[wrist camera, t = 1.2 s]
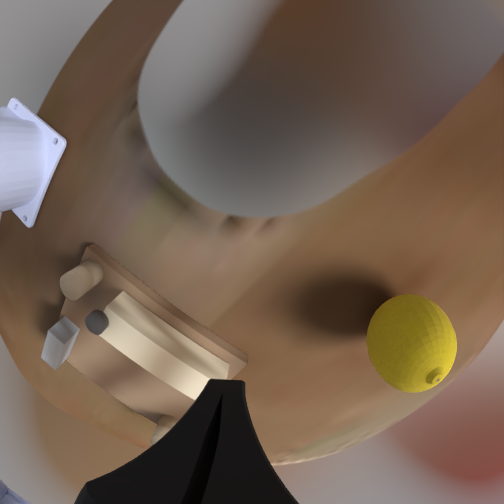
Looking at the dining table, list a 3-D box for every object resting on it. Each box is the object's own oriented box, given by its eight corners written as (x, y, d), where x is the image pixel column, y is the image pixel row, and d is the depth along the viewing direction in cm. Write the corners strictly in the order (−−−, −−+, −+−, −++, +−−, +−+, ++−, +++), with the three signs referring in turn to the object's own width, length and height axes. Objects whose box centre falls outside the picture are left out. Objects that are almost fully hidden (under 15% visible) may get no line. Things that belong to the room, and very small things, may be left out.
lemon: (359, 353, 20) (392, 429, 12) (347, 292, 19) (388, 363, 11) (421, 328, 19) (471, 390, 12) (416, 266, 18) (482, 317, 10)
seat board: (55, 340, 21) (32, 362, 18) (94, 242, 18) (61, 259, 15) (174, 424, 23) (163, 455, 19) (248, 355, 20) (244, 391, 16)
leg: (103, 308, 19) (80, 330, 15) (115, 284, 18) (91, 304, 15) (210, 383, 20) (203, 413, 17) (229, 364, 19) (223, 396, 16)
